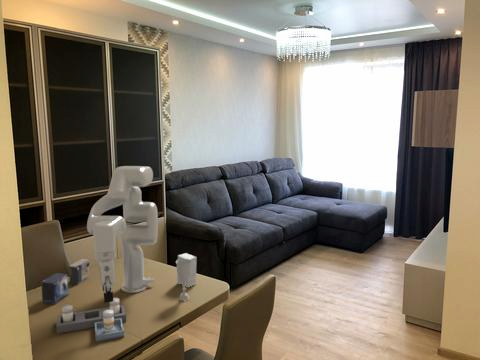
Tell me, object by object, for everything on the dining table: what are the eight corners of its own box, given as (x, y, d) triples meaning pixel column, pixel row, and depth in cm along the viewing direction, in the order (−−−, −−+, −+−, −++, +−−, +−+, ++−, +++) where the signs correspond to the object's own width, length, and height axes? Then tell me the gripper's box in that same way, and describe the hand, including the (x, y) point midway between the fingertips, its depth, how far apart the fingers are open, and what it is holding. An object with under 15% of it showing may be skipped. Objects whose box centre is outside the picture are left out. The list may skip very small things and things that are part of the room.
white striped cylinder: (114, 327, 159) (113, 308, 158) (114, 332, 155) (114, 313, 154) (103, 329, 158) (102, 310, 156) (104, 334, 154) (103, 315, 152)
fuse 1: (73, 322, 164) (72, 304, 162) (73, 327, 160) (72, 308, 159) (63, 324, 162) (61, 305, 161) (62, 329, 159) (61, 310, 157)
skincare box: (176, 283, 201) (176, 255, 199) (185, 280, 206) (185, 252, 203) (188, 288, 196) (187, 259, 193) (197, 284, 200) (196, 256, 198)
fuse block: (124, 311, 173) (123, 304, 173) (126, 321, 165) (125, 314, 164) (58, 322, 164) (57, 315, 163) (56, 333, 156) (56, 326, 155)
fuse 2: (119, 314, 170) (119, 297, 169) (120, 319, 166) (119, 301, 165) (109, 316, 169) (109, 298, 167) (110, 321, 165) (109, 302, 164)
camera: (76, 286, 198) (75, 266, 196) (67, 284, 199) (65, 265, 198) (91, 277, 208) (90, 258, 207) (82, 275, 210) (81, 257, 208)
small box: (54, 305, 178) (53, 283, 176) (42, 303, 179) (40, 281, 178) (69, 294, 188) (68, 273, 187) (57, 293, 190) (55, 272, 188)
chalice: (194, 296, 187) (194, 260, 184) (188, 303, 181) (187, 265, 178) (180, 294, 189) (179, 258, 186) (173, 300, 183) (172, 263, 180)
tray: (121, 323, 163) (121, 318, 163) (124, 336, 154) (123, 330, 153) (95, 328, 159) (94, 322, 159) (95, 342, 150) (95, 336, 150)
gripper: (117, 261, 145) (120, 304, 148) (114, 245, 160) (116, 284, 164) (95, 264, 142) (98, 308, 145) (94, 247, 158) (96, 287, 161)
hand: (108, 295), depth 155 cm, fingers open, 9 cm apart
